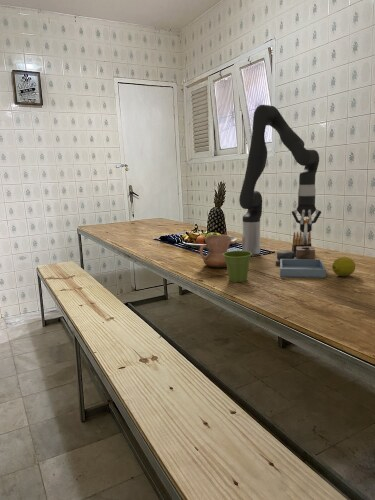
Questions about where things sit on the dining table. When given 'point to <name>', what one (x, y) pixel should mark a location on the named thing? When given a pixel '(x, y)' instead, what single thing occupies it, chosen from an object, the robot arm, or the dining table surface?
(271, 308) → the dining table surface
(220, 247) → the ceramic jug
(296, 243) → the ammunition clip
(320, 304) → the dining table surface
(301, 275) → the tray
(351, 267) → the lemon
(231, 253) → the plant pot
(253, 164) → the robot arm
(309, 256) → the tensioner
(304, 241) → the lock pin
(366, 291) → the dining table surface
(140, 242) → the dining table surface
